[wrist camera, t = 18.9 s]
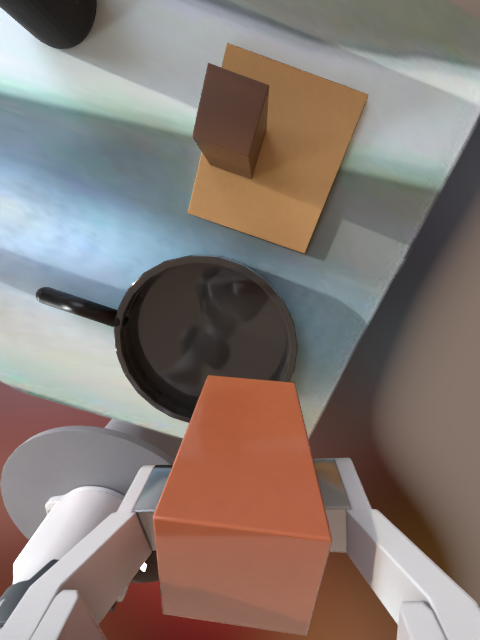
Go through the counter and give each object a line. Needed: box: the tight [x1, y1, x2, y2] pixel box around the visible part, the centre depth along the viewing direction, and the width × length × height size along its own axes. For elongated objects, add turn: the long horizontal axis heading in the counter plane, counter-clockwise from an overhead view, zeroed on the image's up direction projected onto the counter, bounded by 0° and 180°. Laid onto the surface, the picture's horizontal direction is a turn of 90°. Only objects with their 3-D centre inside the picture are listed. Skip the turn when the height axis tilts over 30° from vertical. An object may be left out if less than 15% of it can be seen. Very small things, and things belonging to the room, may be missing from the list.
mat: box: [188, 43, 368, 253], centre depth 21 cm, size 13×12×1 cm
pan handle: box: [36, 287, 128, 327], centre depth 25 cm, size 2×10×2 cm, turn 72°
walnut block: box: [192, 63, 269, 179], centre depth 18 cm, size 4×4×6 cm
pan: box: [114, 254, 297, 423], centre depth 26 cm, size 19×19×2 cm
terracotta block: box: [153, 375, 332, 635], centre depth 9 cm, size 4×4×6 cm
